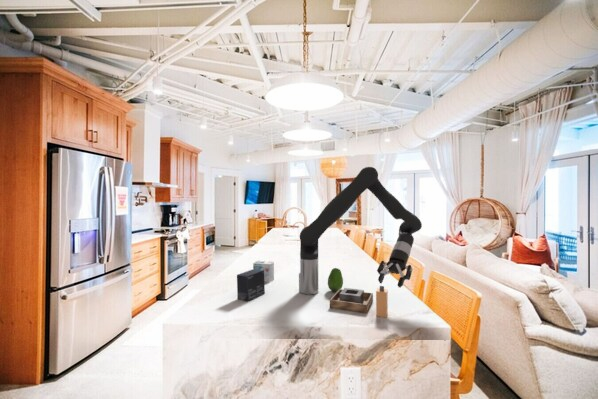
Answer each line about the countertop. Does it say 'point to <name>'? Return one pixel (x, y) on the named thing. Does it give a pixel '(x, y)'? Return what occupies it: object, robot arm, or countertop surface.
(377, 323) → the countertop surface
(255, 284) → the small box
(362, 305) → the walled tray
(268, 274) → the light bulb box
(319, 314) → the countertop surface
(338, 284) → the avocado
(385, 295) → the plug
